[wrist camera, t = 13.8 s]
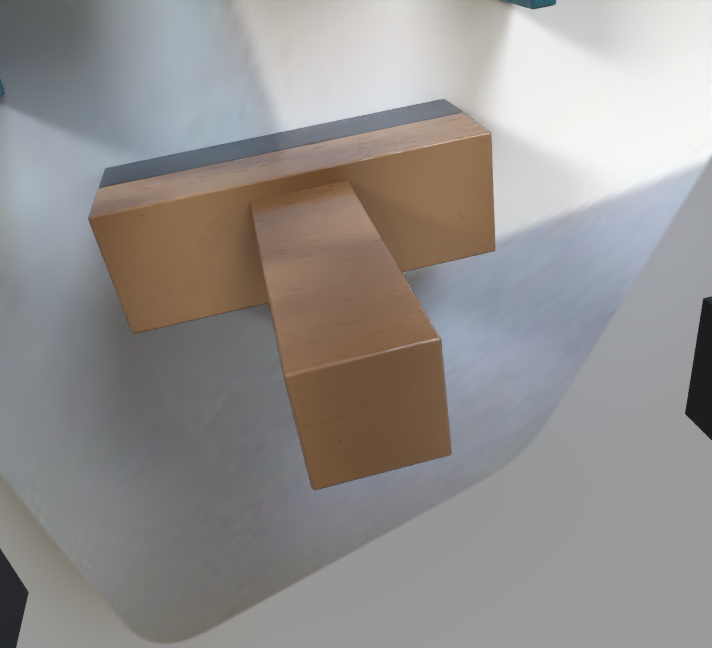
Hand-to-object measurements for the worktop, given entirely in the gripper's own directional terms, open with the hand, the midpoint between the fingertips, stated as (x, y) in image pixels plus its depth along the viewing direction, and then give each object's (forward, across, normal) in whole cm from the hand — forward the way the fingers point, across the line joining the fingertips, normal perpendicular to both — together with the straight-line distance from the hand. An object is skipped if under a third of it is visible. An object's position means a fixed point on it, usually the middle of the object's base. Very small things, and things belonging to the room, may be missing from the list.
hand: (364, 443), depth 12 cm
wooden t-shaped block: (+14, 0, 0) cm, 15 cm away
